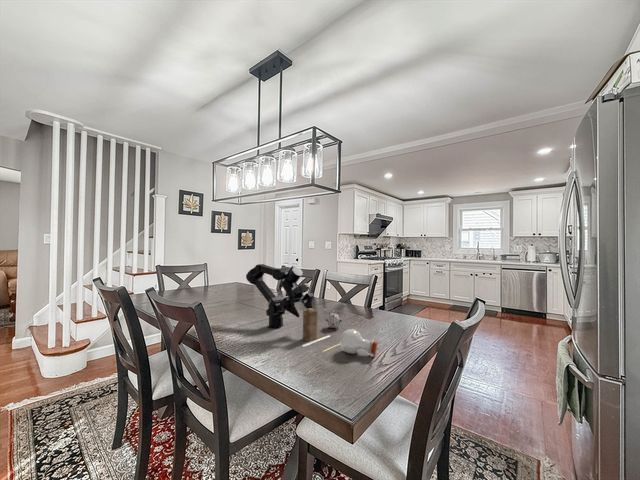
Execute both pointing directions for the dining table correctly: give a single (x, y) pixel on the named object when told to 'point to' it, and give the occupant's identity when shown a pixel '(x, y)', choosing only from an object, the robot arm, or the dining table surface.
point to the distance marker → (331, 347)
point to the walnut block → (309, 324)
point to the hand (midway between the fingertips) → (306, 314)
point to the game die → (333, 320)
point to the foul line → (315, 341)
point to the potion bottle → (357, 343)
